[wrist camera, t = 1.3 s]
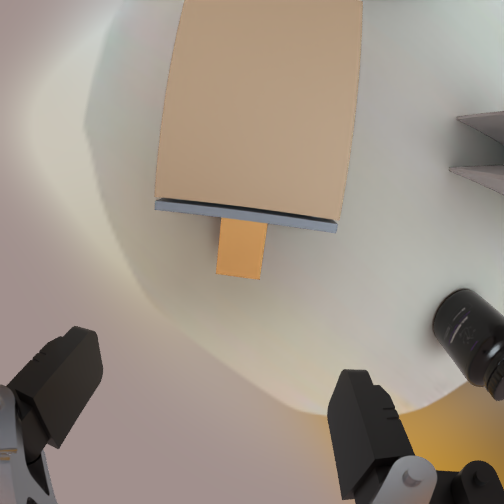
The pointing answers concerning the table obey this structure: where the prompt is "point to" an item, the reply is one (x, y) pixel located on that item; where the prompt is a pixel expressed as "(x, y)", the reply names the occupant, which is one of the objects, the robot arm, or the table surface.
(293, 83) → the sleeve
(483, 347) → the supplement bottle
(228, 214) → the tray
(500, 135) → the grey standing panel
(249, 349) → the table surface
